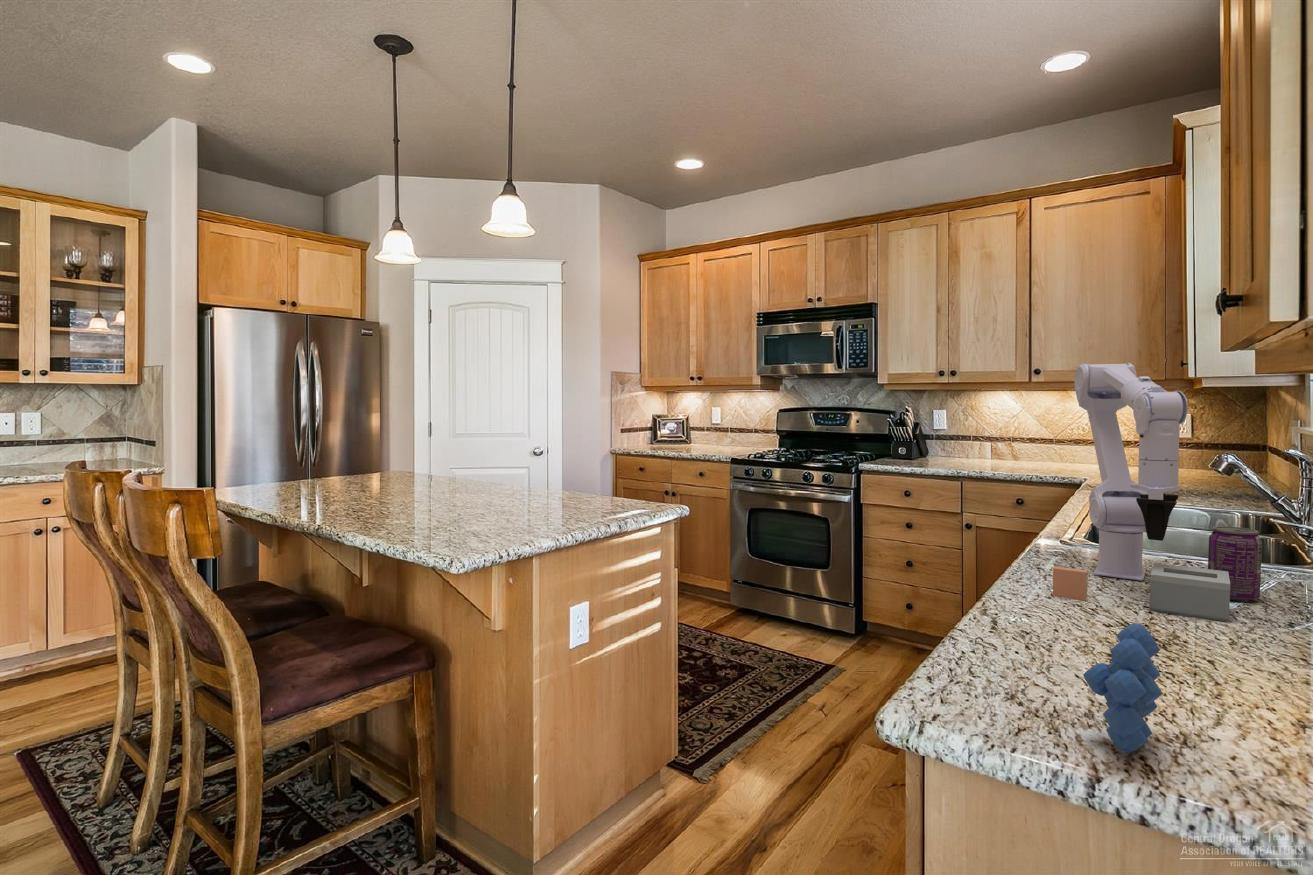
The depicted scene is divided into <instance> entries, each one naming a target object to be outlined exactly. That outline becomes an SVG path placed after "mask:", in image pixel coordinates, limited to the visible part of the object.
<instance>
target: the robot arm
mask: <svg viewBox="0 0 1313 875" xmlns="http://www.w3.org/2000/svg"><path fill="white" fill-rule="evenodd" d="M1137 376H1138V375H1137V370H1136V367H1135V365H1134V364H1132V363H1131V362H1125V363H1095V364H1094V363H1092V364H1091V363H1090V364H1089V363H1088V364H1087V363H1081V364H1080V365H1079V366H1078V367H1077V368H1076V370H1075V375H1074V381H1073V382H1074V390H1075V395H1076V400H1077V404H1078V407H1080V408H1082V409H1083V410H1086V411H1087V416H1088V420H1089V421H1088V422H1089V426H1090V428H1091V429H1090V430H1091V434H1092V439H1093V445H1094V450H1095V453H1096V454H1095V456H1096V459H1097V465H1098V470H1099V474H1100V475H1099V476H1100V479H1101V483H1100V484H1098V485H1097V486H1095V487H1093V489H1091V492H1090V493H1089V496H1088V500H1089V501H1088V503H1089V507H1088V508H1089V509H1088V512H1089V514H1088V515H1089V518H1090V519H1089V520H1090V522H1091V523H1092V524H1093V526H1095V528H1097V529H1098V530H1099V532H1098V564H1097V566H1096V568H1095V570H1094V571H1093V574H1094V575H1095V576H1103V577H1109V578H1110V577H1112V578H1117V579H1126V580H1133V581H1144V578H1145V575H1146V572H1147V570H1146V569H1145V568H1143V553H1144V552H1143V551H1144V550H1143V547H1144V546H1143V545H1144V533H1146V536H1147V540H1150V541H1152V540H1153V541H1161V542H1163V541H1164V540H1165V536H1166V532H1167V528H1168V525H1169V522H1170V521H1169V520H1170V516H1171V513H1172V511H1173V510H1174V508H1175V507H1176V505H1177V504H1178V501H1177V500H1178V499H1179V494H1173V492H1179V491H1180V490H1181V489H1180V487H1181V486H1180V485H1179V470H1180V433H1181V432H1180V431H1181V430H1180V428H1181V427H1180V425H1181V424H1183V423H1184V422H1185V420H1186V418H1187V415H1188V411H1189V410H1188V409H1189V408H1188V407H1189V406H1188V400H1187V397H1186V395H1185V394H1184V393H1183V392H1182V391H1181V390H1174V391H1167V390H1166V389H1164V388H1163V387H1162V386H1160V385H1158V384H1157V383H1155V382H1154V381H1152V378H1151V377H1150V376H1147V375H1146V376H1138V377H1137ZM1127 406H1128V407H1130V409H1132V411H1133V412H1132V413H1133V417H1134V421H1135V431H1136V433H1137V434H1138V436H1139V437H1138V472H1137V473H1138V477H1137V479H1138V480H1137V482H1135V481H1134V480H1133V479H1131V474H1130V468H1129V464H1128V461H1127V456H1126V452H1125V448H1124V443H1123V438H1122V433H1121V429H1120V424H1119V420H1118V415H1117V412H1118V411H1119V410H1121V409H1123V408H1126V407H1127ZM1171 493H1172V494H1171Z"/></svg>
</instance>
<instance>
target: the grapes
mask: <svg viewBox="0 0 1313 875" xmlns="http://www.w3.org/2000/svg"><path fill="white" fill-rule="evenodd" d="M1116 638H1117V639H1118V643H1117V644H1115V645H1114V646H1113V647H1112V648H1111V649H1110V650H1109V652H1110V655H1111V656H1112V657H1111V658H1110V659H1109V660H1110V661H1111V662H1110V663H1109V664H1106V663H1105V662H1099V663H1096V664H1094V665H1092V666H1091V667H1090V668H1089V669H1087V670H1086V671H1085V672H1084V673H1083V674H1082V675H1083V678H1084V680H1085V681H1086V683H1087V685H1088V687H1089V688H1090V690H1092V692H1093V693H1094V694H1097V695H1098V696H1101V697H1104V699H1105V701H1106V702H1105V705H1106V706H1107V707H1108V708H1107V709H1105V711H1104V712H1103V713H1102V715H1103V716H1104V717H1103V718H1104V719H1105V721H1106V723H1107V724H1108V727H1107V728H1106V729H1105V730H1106V733H1107V735H1108V736H1109V738H1110V740H1111V741H1112V744H1114V746H1115V747H1116V749H1117V750H1119V751H1120V752H1122V753H1125V754H1130V753H1133V752H1135V751H1138V750H1139V749H1140V748H1141V747H1142V746H1143V745H1144V744H1146V743H1147V742H1148V740H1147V739H1148V738H1149V737H1151V736H1152V734H1153V732H1152V730H1151V729H1150V726H1149V725H1148V723H1147V722H1146V720H1145V719H1144V718H1146V717H1148V716H1149V715H1150V714H1151V713H1152V712H1154V711H1155V710H1156V709H1157V708H1158V706H1157V704H1156V702H1155V701H1156V700H1157V699H1159V697H1160V696H1162V695H1163V692H1162V690H1161V688H1160V687H1159V685H1158V684H1157V683H1156V680H1157V679H1158V678H1159V677H1160V676H1161V673H1160V672H1159V670H1158V668H1157V666H1156V665H1155V663H1153V661H1152V658H1153V657H1154V656H1155V655H1157V654H1158V653H1159V652H1160V651H1161V649H1160V647H1159V645H1158V644H1157V642H1156V640H1155V639H1154V637H1153V636H1152V634H1151V633H1150V631H1149V630H1148V629H1147V627H1146V626H1144V625H1142V624H1141V623H1138V622H1134V623H1130V624H1128V625H1127V626H1126V627H1124V628H1123V629H1122V630H1121V631H1119V632H1118V633H1117V634H1116Z"/></svg>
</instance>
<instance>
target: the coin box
mask: <svg viewBox="0 0 1313 875" xmlns="http://www.w3.org/2000/svg"><path fill="white" fill-rule="evenodd" d="M1149 592H1150V595H1149V596H1150V598H1149V611H1152V612H1157V611H1158V612H1157V613H1164V612H1165V613H1164V614H1170V615H1171V614H1172V615H1177V616H1178V615H1179V616H1184V617H1185V616H1186V617H1192V618H1199V619H1204V620H1210V621H1211V620H1212V621H1219V622H1224V623H1229V622H1230V603H1231V600H1230V579H1229V573H1228V571H1219V570H1211V569H1208V568H1203V567H1202V568H1200V567H1193V566H1192V567H1191V566H1183V565H1175V564H1166V563H1157V562H1154V563H1153V566H1152V570H1151V573H1150V591H1149Z"/></svg>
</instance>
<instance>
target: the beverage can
mask: <svg viewBox="0 0 1313 875" xmlns="http://www.w3.org/2000/svg"><path fill="white" fill-rule="evenodd" d="M1259 534H1260V531H1258V530H1256V529H1253V528H1247V527H1246V528H1245V527H1238V526H1226V525H1223V526H1221V525H1220V526H1213V527H1212V532H1211V534H1209V537H1208V552H1207V553H1208V555H1207V556H1208V557H1207V569H1211V570H1219V571H1228V573H1229V579H1230V601H1235V602H1251V601H1253V600H1257V599H1260V598H1261V582H1262V581H1261V579H1262V578H1261V577H1262V576H1261V574H1262V552H1263V551H1262V550H1263V542H1262V540H1261V538H1260V536H1259Z"/></svg>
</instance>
